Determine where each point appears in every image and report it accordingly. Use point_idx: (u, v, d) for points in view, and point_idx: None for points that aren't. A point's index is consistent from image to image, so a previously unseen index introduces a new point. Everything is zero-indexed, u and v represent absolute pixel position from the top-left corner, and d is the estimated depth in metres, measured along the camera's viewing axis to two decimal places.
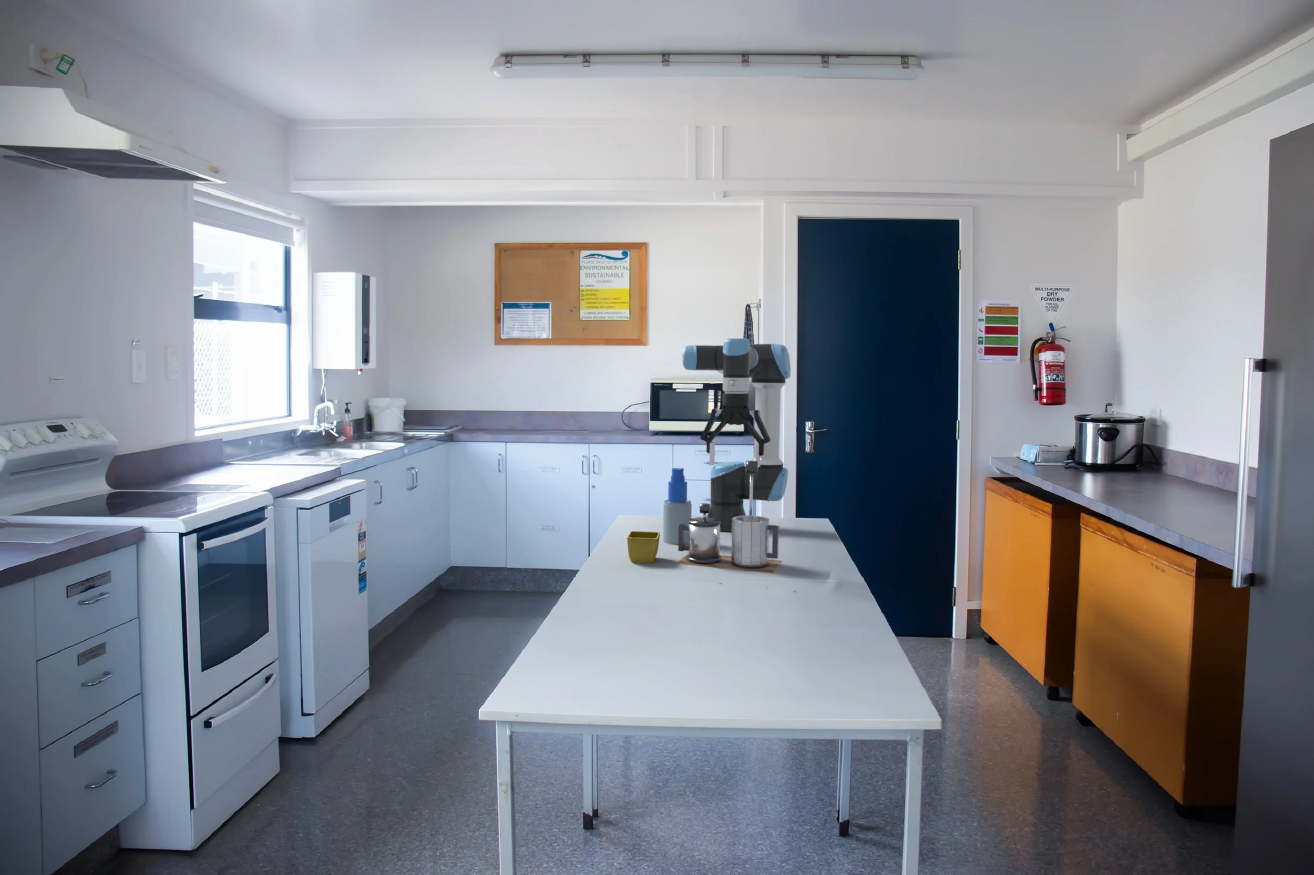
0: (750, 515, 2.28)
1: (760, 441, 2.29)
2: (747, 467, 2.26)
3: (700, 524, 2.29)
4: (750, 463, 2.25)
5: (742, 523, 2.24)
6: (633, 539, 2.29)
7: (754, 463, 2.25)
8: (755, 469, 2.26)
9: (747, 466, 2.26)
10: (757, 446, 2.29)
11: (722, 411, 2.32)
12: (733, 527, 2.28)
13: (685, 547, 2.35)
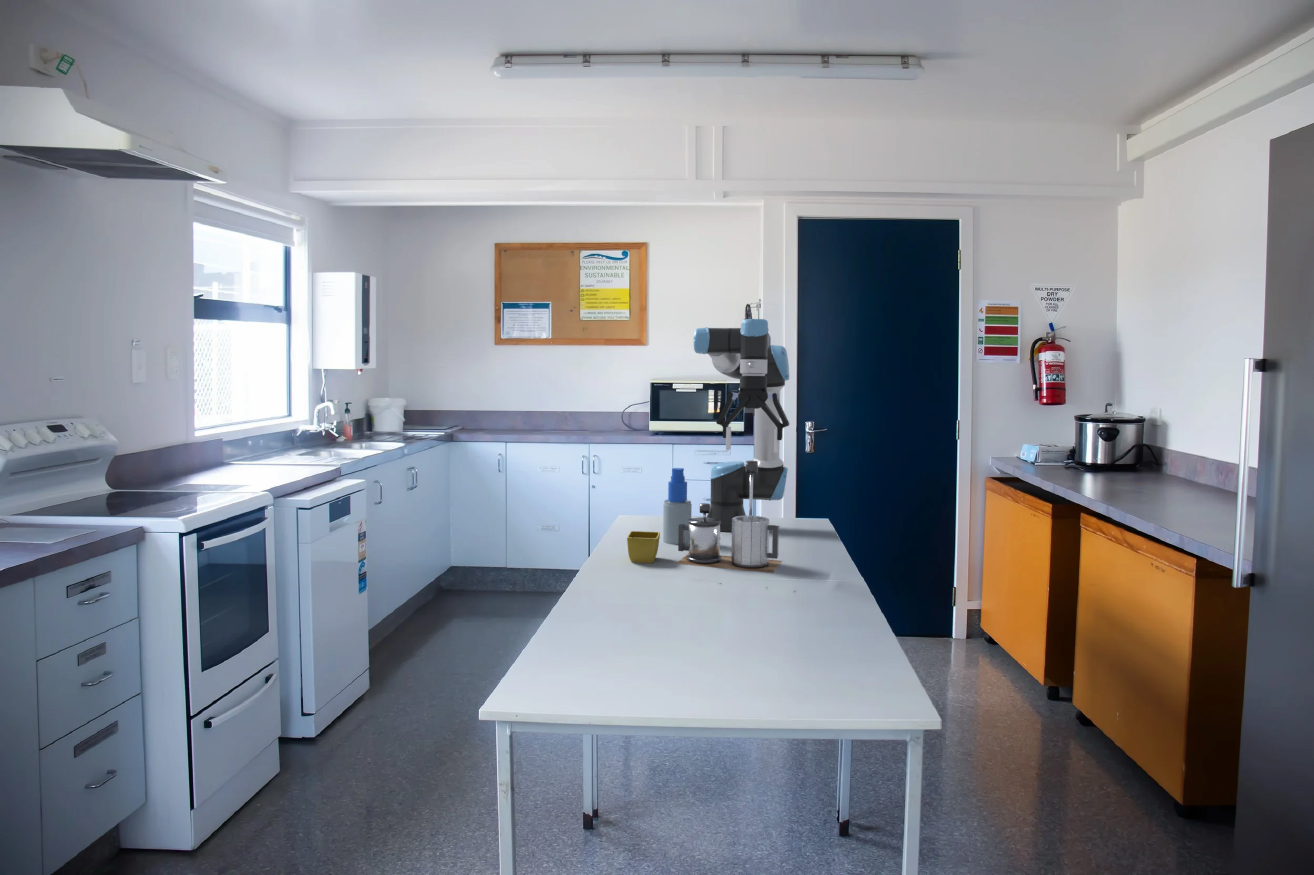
0: (750, 515, 2.28)
1: (779, 425, 2.22)
2: (747, 467, 2.26)
3: (700, 524, 2.29)
4: (750, 463, 2.25)
5: (742, 523, 2.24)
6: (633, 539, 2.29)
7: (754, 463, 2.25)
8: (755, 469, 2.26)
9: (747, 466, 2.26)
10: (775, 430, 2.22)
11: (739, 394, 2.25)
12: (733, 527, 2.28)
13: (685, 547, 2.35)
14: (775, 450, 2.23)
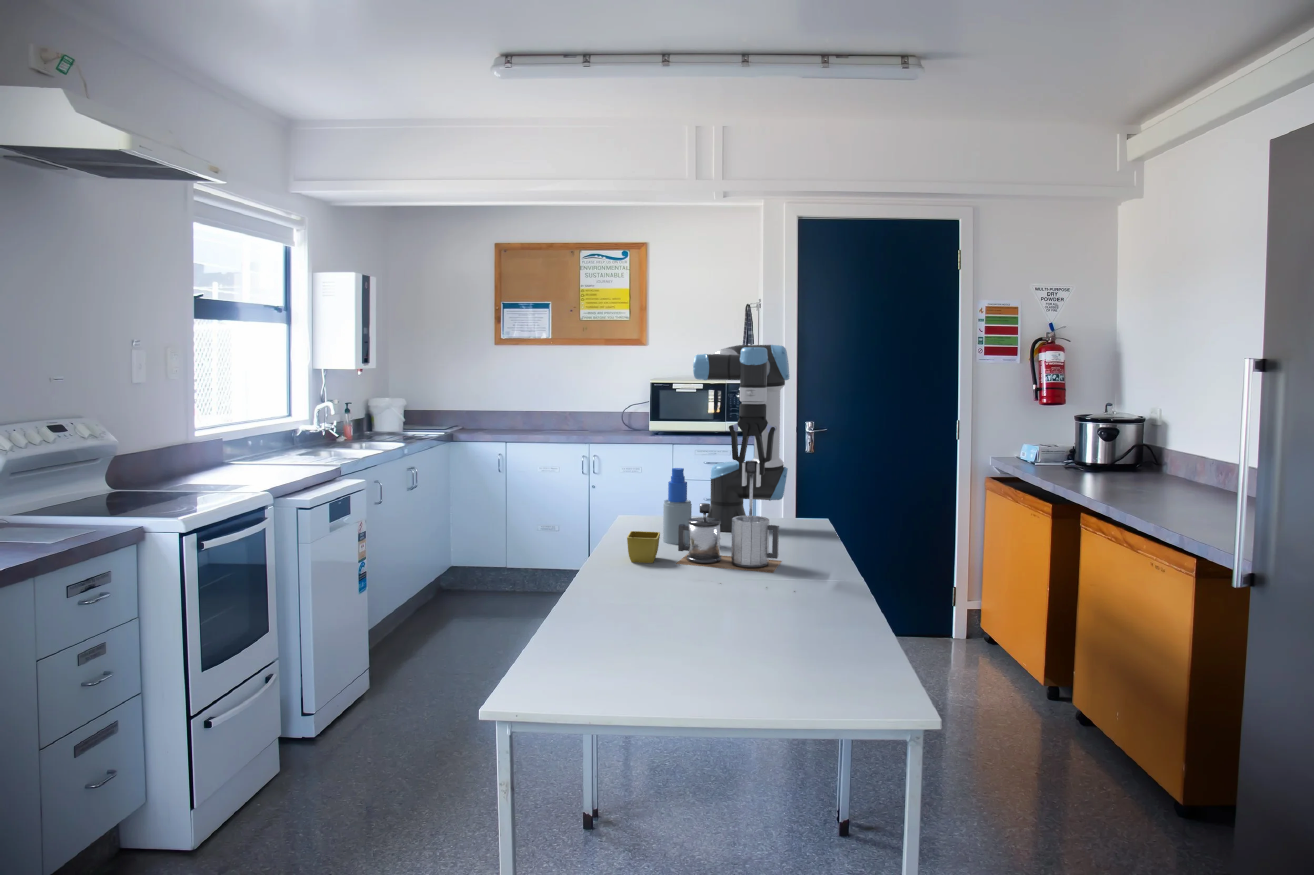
0: (750, 515, 2.28)
1: (761, 460, 2.25)
2: (747, 467, 2.26)
3: (700, 524, 2.29)
4: (750, 463, 2.25)
5: (742, 523, 2.24)
6: (633, 539, 2.29)
7: (754, 463, 2.25)
8: (755, 469, 2.26)
9: (747, 466, 2.26)
10: (758, 465, 2.25)
11: (738, 423, 2.26)
12: (733, 527, 2.28)
13: (685, 547, 2.35)
14: (757, 485, 2.26)
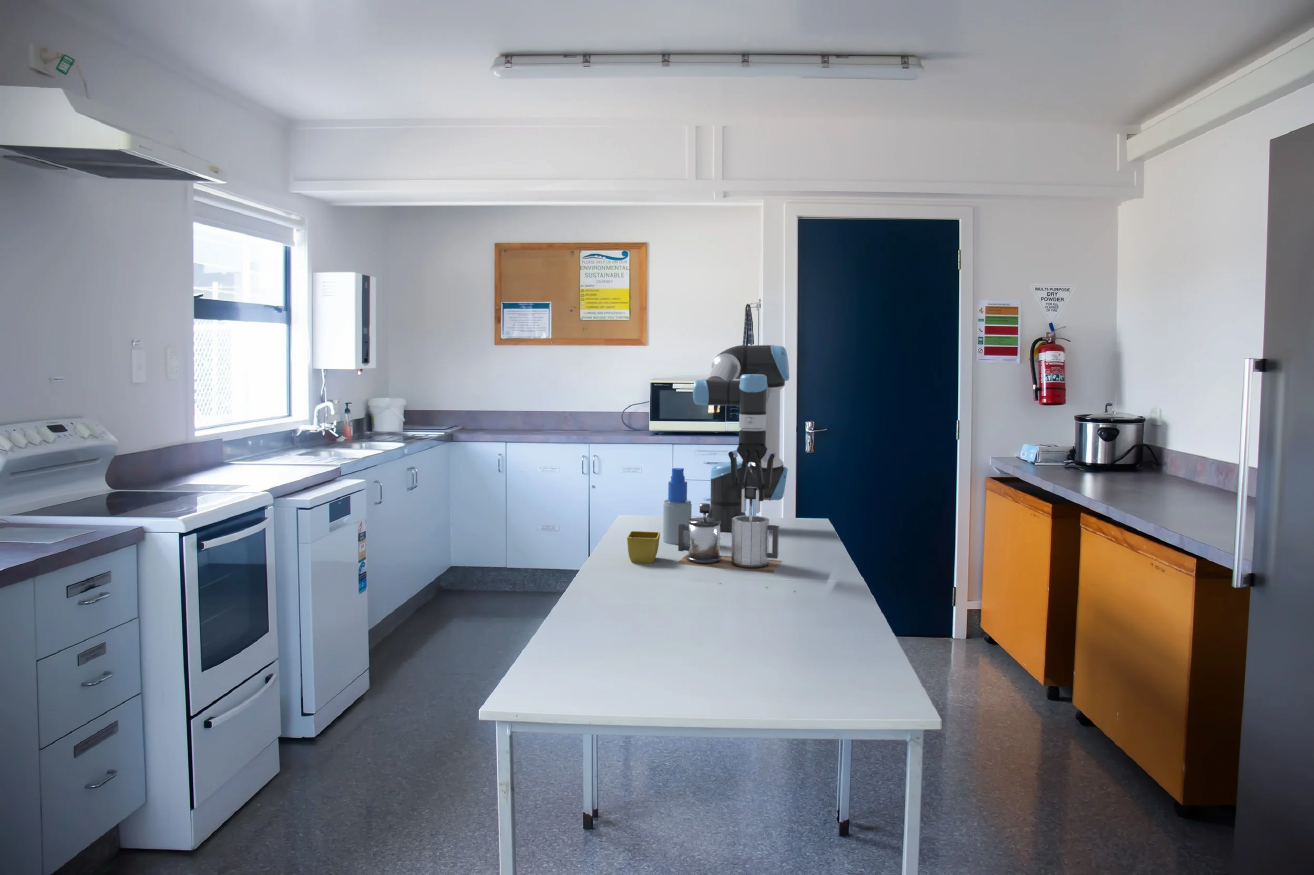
0: None
1: (761, 487, 2.26)
2: (746, 493, 2.27)
3: (700, 524, 2.29)
4: (749, 489, 2.26)
5: (742, 523, 2.24)
6: (633, 539, 2.29)
7: (753, 489, 2.26)
8: (754, 495, 2.26)
9: (746, 492, 2.27)
10: (757, 491, 2.26)
11: (738, 449, 2.27)
12: (733, 527, 2.28)
13: (685, 547, 2.35)
14: (757, 511, 2.26)
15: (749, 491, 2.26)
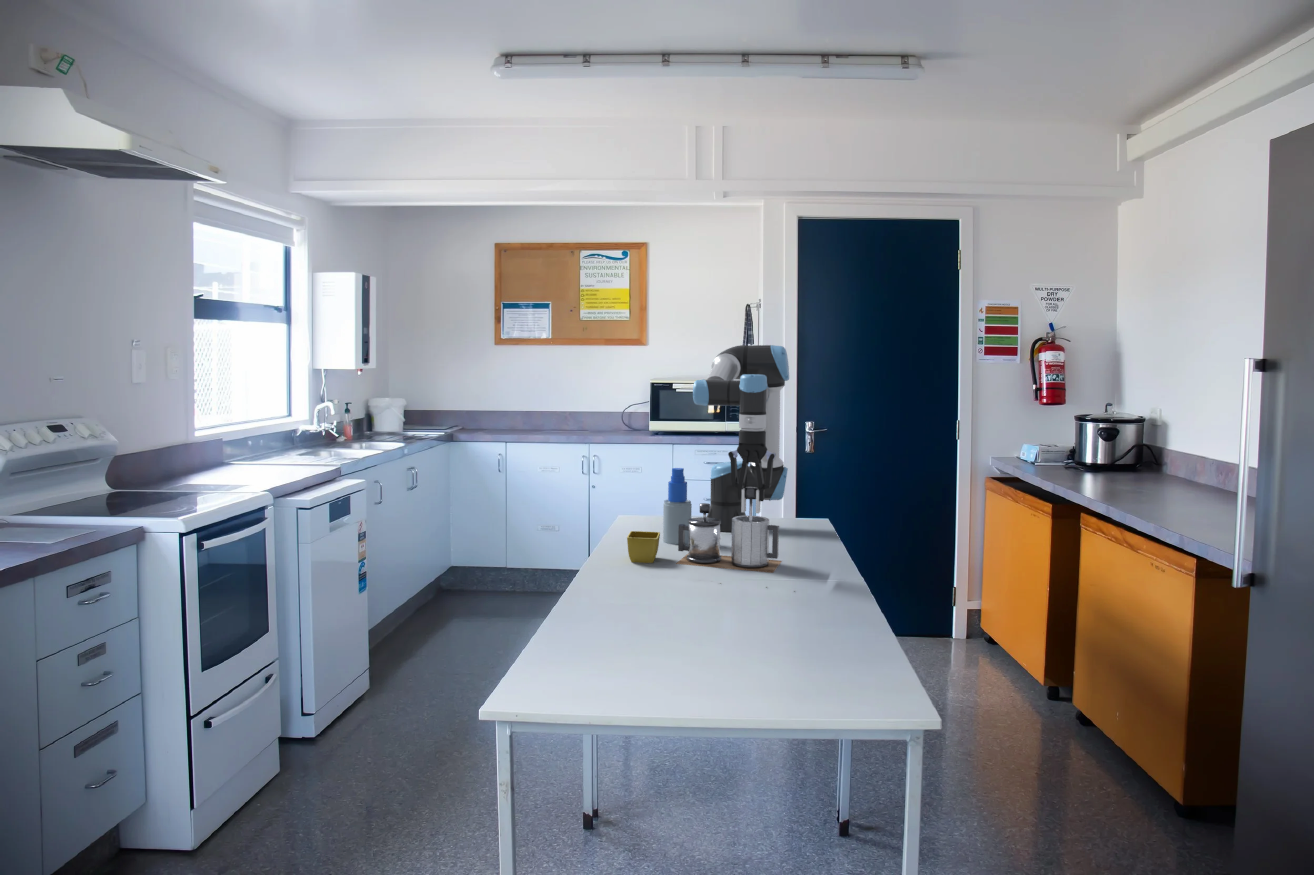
0: None
1: (761, 487, 2.26)
2: (746, 493, 2.27)
3: (700, 524, 2.29)
4: (749, 490, 2.26)
5: (742, 523, 2.24)
6: (633, 539, 2.29)
7: (753, 490, 2.26)
8: (754, 495, 2.26)
9: (746, 492, 2.27)
10: (757, 492, 2.26)
11: (738, 449, 2.27)
12: (733, 527, 2.28)
13: (685, 547, 2.35)
14: (757, 511, 2.26)
15: (749, 491, 2.26)
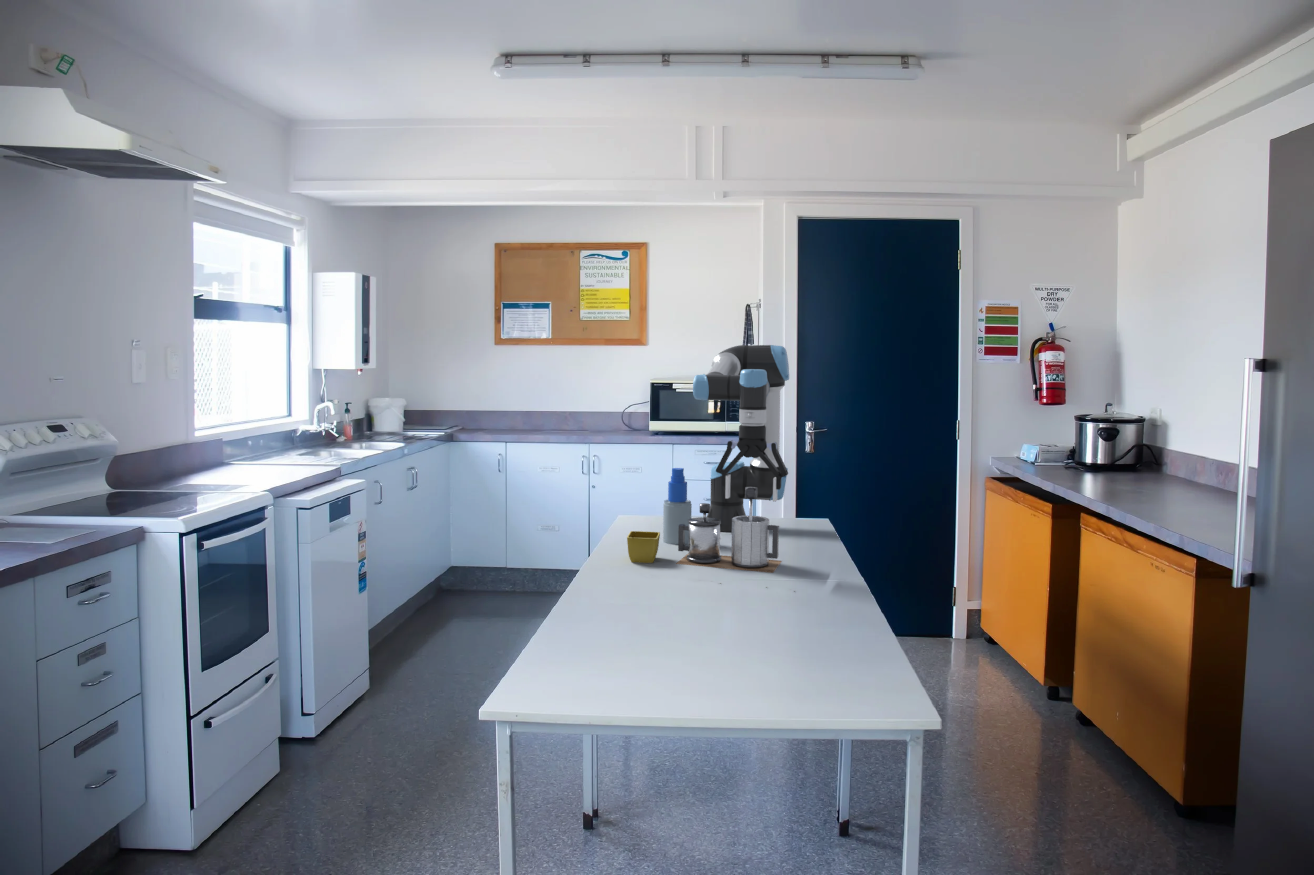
0: None
1: (778, 475, 2.24)
2: (746, 493, 2.27)
3: (700, 524, 2.29)
4: (749, 490, 2.26)
5: (742, 523, 2.24)
6: (633, 539, 2.29)
7: (753, 490, 2.26)
8: (754, 495, 2.26)
9: (746, 492, 2.27)
10: (774, 480, 2.24)
11: (738, 443, 2.27)
12: (733, 527, 2.28)
13: (685, 547, 2.35)
14: (774, 499, 2.25)
15: (749, 491, 2.26)
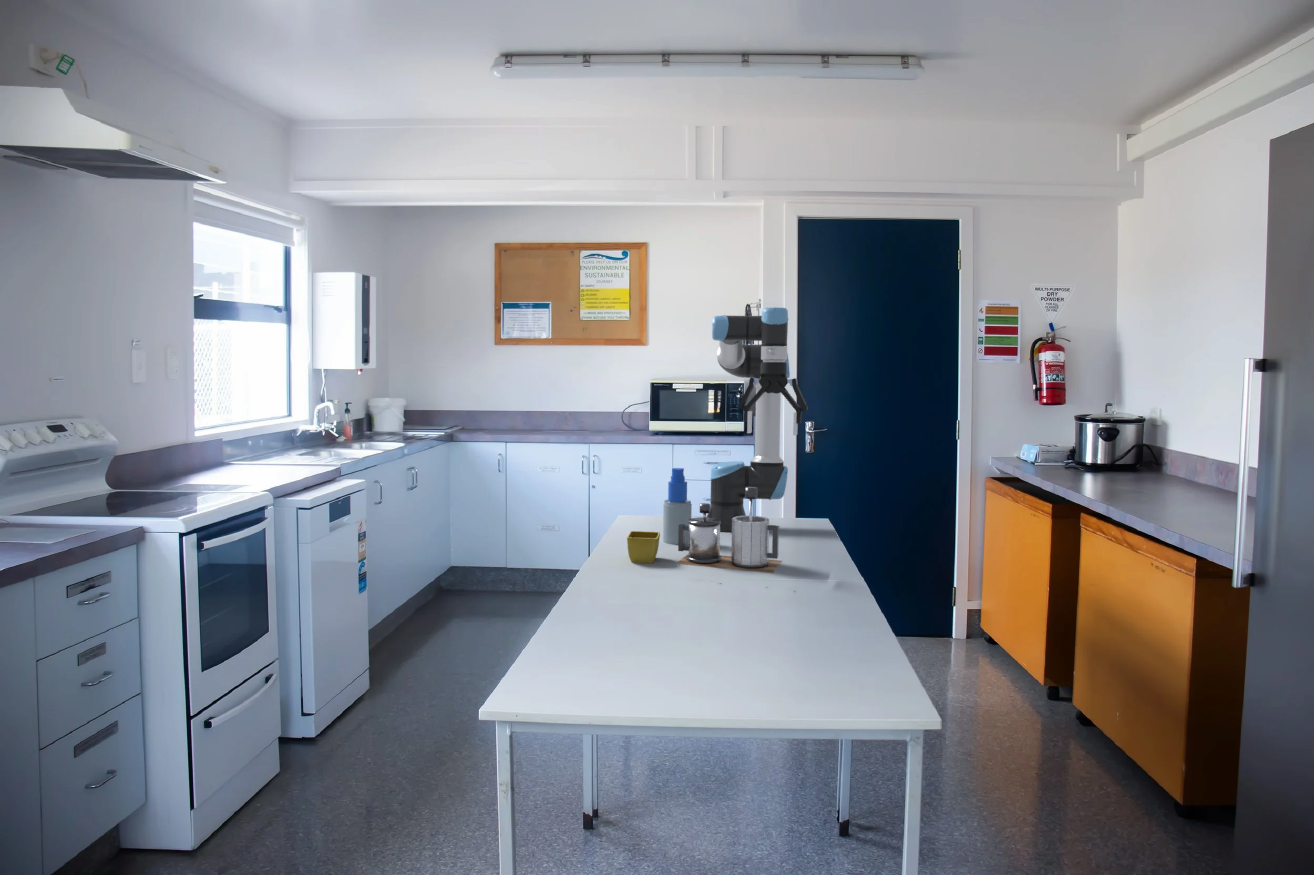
0: None
1: (798, 409, 2.33)
2: (746, 493, 2.27)
3: (700, 524, 2.29)
4: (749, 490, 2.26)
5: (742, 523, 2.24)
6: (633, 539, 2.29)
7: (753, 490, 2.26)
8: (754, 495, 2.26)
9: (746, 492, 2.27)
10: (795, 414, 2.33)
11: (760, 380, 2.36)
12: (733, 527, 2.28)
13: (685, 547, 2.35)
14: (794, 433, 2.34)
15: (749, 491, 2.26)
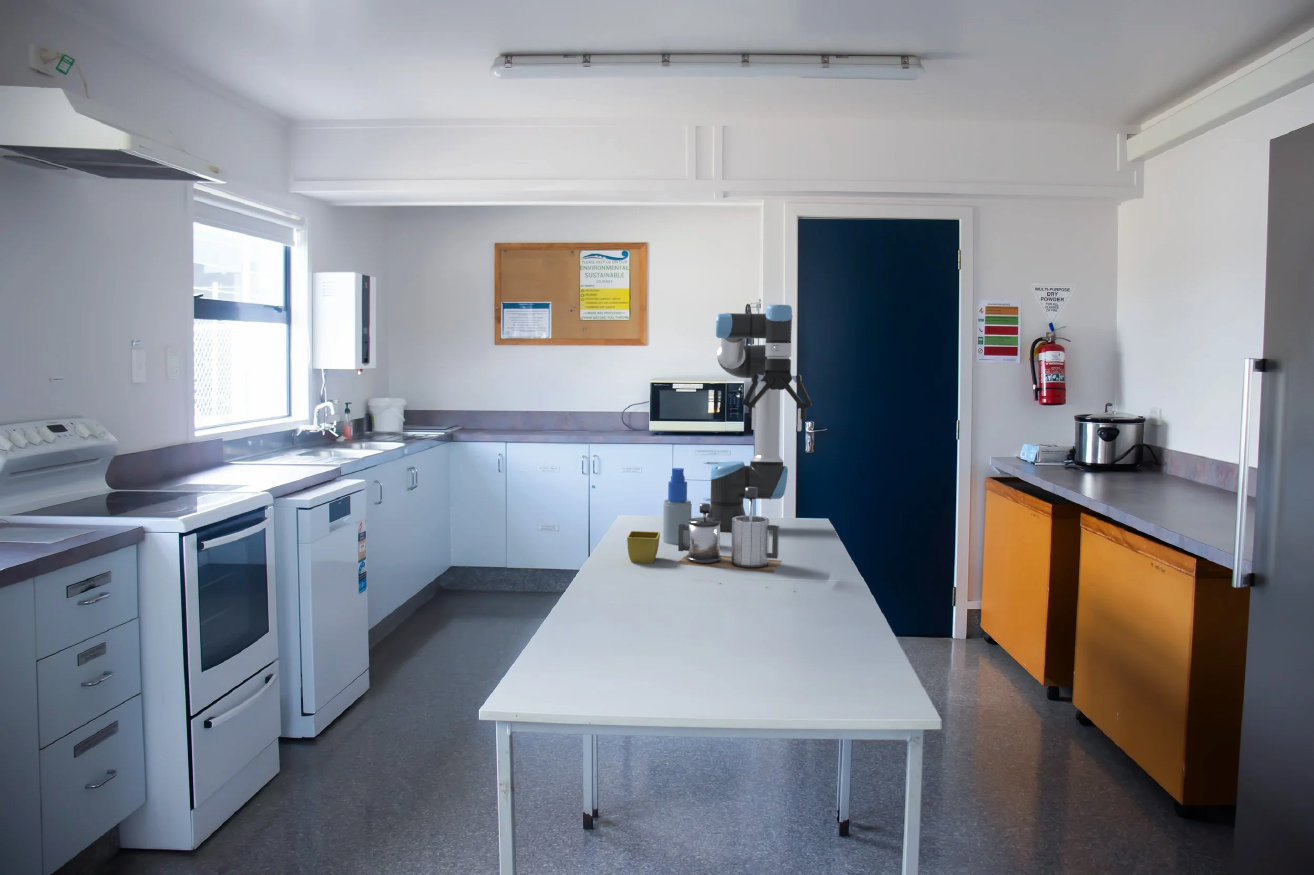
0: None
1: (802, 405, 2.35)
2: (746, 493, 2.27)
3: (700, 524, 2.29)
4: (749, 490, 2.26)
5: (742, 523, 2.24)
6: (633, 539, 2.29)
7: (753, 490, 2.26)
8: (754, 495, 2.26)
9: (746, 492, 2.27)
10: (799, 410, 2.35)
11: (764, 376, 2.38)
12: (733, 527, 2.28)
13: (685, 547, 2.35)
14: (799, 429, 2.36)
15: (749, 491, 2.26)
